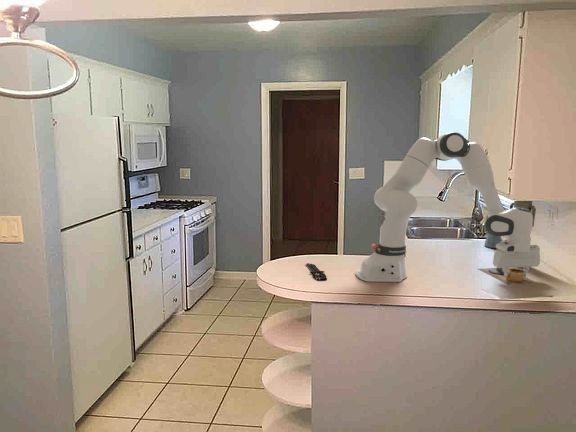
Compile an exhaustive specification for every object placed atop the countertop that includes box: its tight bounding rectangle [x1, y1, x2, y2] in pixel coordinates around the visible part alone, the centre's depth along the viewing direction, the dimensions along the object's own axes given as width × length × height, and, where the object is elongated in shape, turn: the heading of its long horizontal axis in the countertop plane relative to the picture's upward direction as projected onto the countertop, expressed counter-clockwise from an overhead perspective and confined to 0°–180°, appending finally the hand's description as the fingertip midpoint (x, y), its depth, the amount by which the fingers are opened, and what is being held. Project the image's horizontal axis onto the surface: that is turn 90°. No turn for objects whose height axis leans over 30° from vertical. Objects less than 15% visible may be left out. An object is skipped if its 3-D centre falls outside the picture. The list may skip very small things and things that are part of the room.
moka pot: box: [484, 214, 503, 249], centre depth 266 cm, size 10×15×20 cm, turn 2°
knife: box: [305, 262, 328, 282], centre depth 219 cm, size 26×7×2 cm, turn 6°
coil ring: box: [506, 267, 525, 282], centre depth 206 cm, size 7×7×4 cm
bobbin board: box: [477, 267, 538, 285], centre depth 211 cm, size 14×22×8 cm, turn 11°
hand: (514, 276), depth 206 cm, fingers closed on coil ring, 7 cm apart
